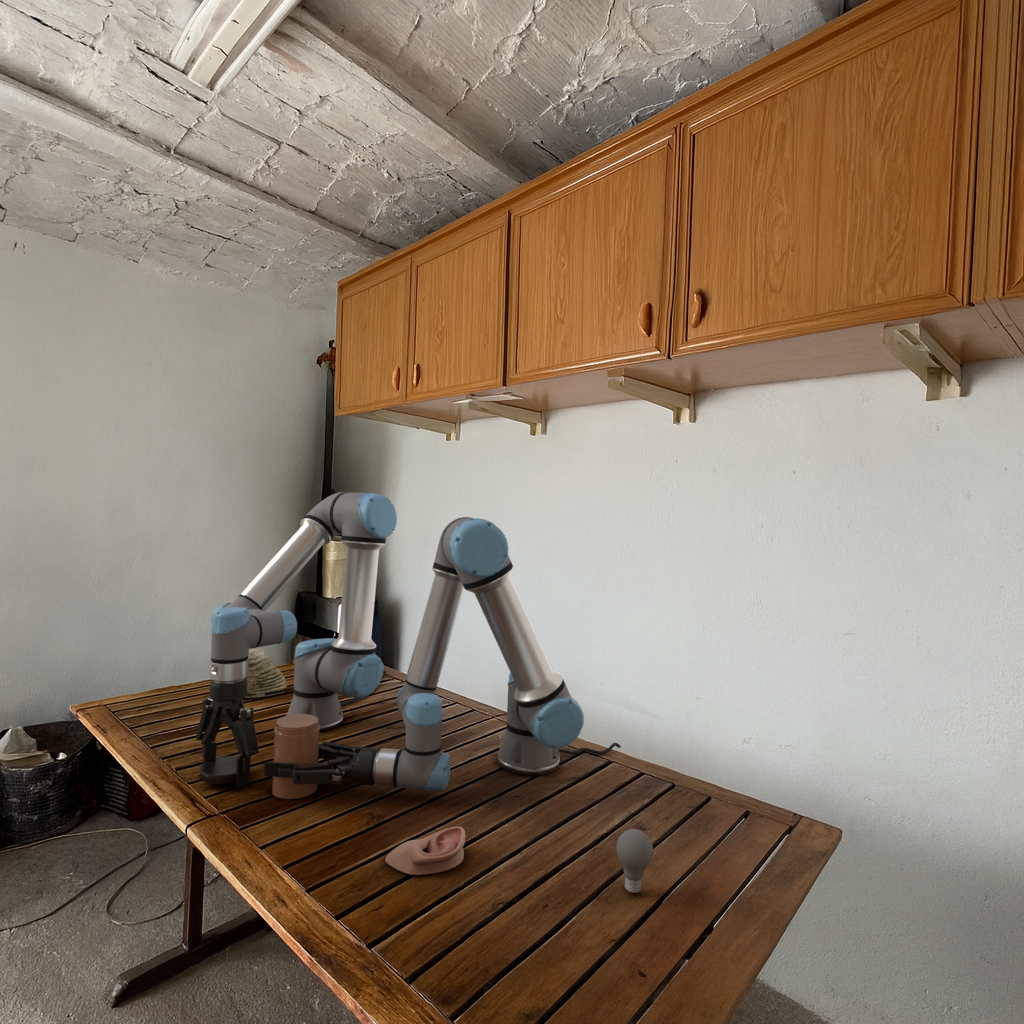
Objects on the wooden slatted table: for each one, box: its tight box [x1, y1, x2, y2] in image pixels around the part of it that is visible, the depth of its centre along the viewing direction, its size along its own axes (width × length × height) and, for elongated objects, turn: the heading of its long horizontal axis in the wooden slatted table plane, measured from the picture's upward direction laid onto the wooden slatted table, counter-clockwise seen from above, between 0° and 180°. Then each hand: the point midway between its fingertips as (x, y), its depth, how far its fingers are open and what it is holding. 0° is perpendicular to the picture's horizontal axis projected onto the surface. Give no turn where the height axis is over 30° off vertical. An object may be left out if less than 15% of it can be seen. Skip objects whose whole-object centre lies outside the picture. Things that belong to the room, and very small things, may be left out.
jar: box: [271, 714, 321, 800], centre depth 137 cm, size 9×9×15 cm
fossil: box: [243, 647, 288, 699], centre depth 198 cm, size 9×18×15 cm, turn 132°
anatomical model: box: [384, 826, 466, 876], centre depth 113 cm, size 13×4×12 cm
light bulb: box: [615, 828, 654, 894], centre depth 106 cm, size 6×6×10 cm
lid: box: [199, 755, 251, 785], centre depth 139 cm, size 10×10×2 cm
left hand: (225, 779), depth 139 cm, fingers open, 10 cm apart
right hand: (276, 758), depth 137 cm, fingers closed on jar, 9 cm apart
